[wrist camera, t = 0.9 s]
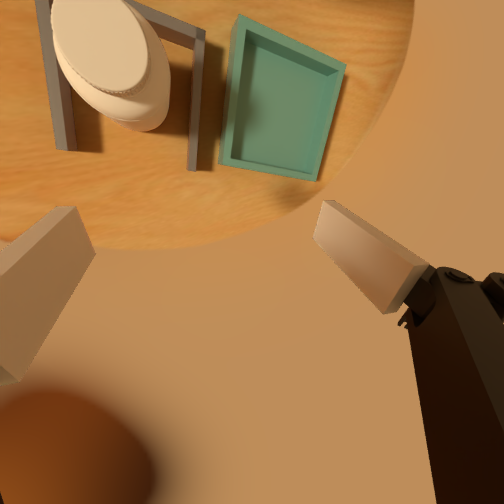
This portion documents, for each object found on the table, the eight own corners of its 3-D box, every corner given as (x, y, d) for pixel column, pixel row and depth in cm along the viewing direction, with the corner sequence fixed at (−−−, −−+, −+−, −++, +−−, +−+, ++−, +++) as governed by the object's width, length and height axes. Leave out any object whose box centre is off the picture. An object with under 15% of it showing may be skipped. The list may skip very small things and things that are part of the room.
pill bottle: (128, 144, 28) (93, 133, 15) (78, 70, 24) (-29, -31, 11) (182, 117, 29) (193, 84, 16) (142, 41, 25) (114, -85, 12)
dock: (46, -18, 21) (28, -43, 18) (201, 42, 26) (205, 30, 24) (67, 149, 26) (56, 148, 23) (193, 170, 32) (195, 171, 29)
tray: (231, 28, 27) (239, 13, 24) (331, 72, 33) (346, 64, 30) (217, 163, 32) (222, 164, 30) (304, 179, 38) (315, 181, 36)
